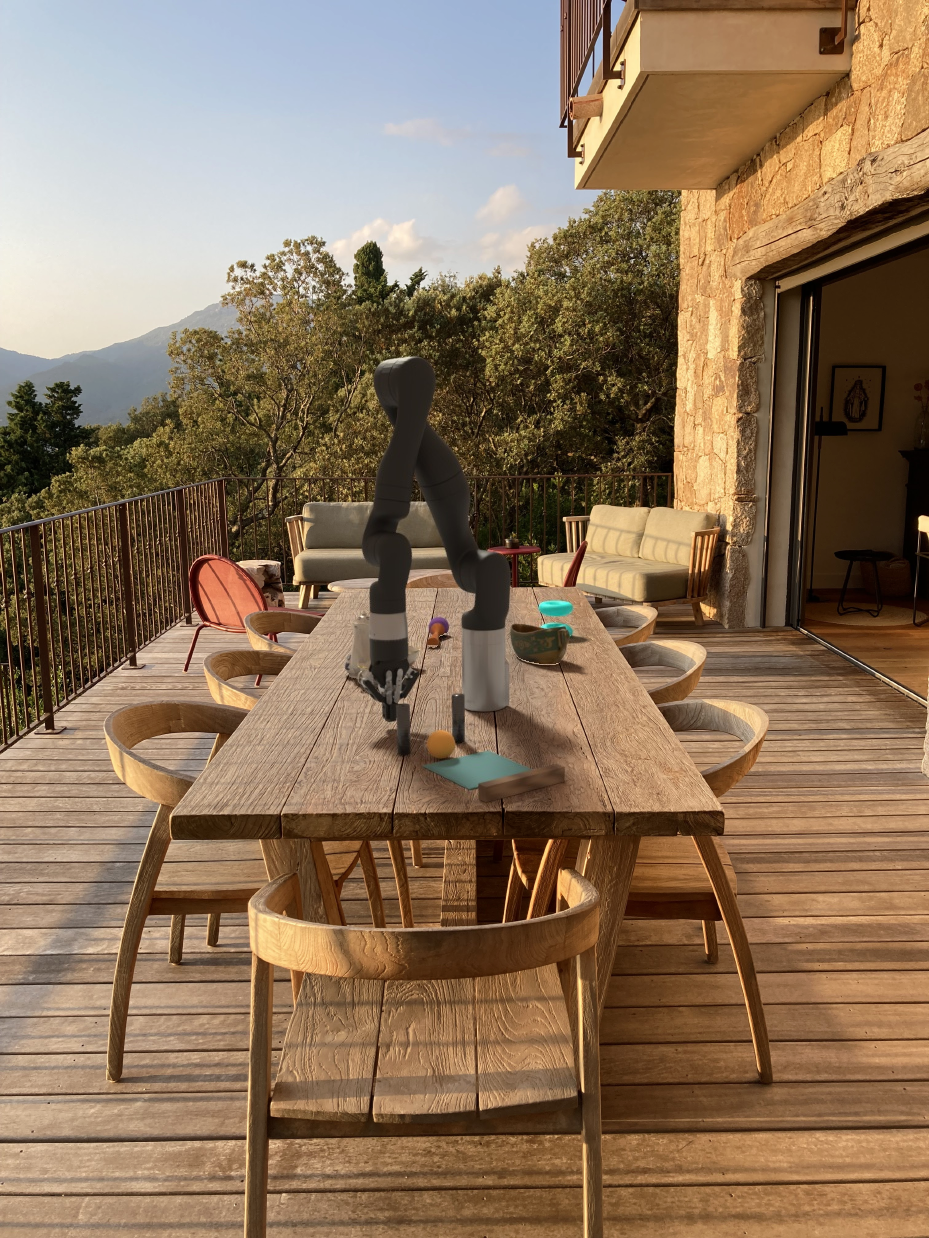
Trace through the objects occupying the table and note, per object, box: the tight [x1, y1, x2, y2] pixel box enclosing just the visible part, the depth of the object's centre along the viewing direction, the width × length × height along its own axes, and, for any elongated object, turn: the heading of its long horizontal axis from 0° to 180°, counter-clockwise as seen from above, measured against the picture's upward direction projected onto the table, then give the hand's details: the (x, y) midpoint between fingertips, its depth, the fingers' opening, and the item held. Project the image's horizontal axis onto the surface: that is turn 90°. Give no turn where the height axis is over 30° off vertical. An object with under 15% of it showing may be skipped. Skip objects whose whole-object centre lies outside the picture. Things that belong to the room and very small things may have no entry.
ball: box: [426, 729, 456, 760], centre depth 166 cm, size 5×5×5 cm
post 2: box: [451, 692, 466, 744], centre depth 175 cm, size 2×2×9 cm
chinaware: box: [343, 609, 422, 688], centre depth 227 cm, size 28×17×17 cm, turn 168°
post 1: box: [396, 702, 412, 757], centre depth 169 cm, size 2×2×9 cm
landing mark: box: [422, 750, 533, 791], centre depth 161 cm, size 14×14×1 cm
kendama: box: [426, 616, 450, 646], centre depth 269 cm, size 6×6×20 cm
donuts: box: [538, 600, 574, 636], centre depth 273 cm, size 10×10×10 cm
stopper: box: [477, 763, 566, 803], centre depth 151 cm, size 16×2×2 cm, turn 125°
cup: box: [509, 623, 571, 664], centre depth 242 cm, size 13×20×10 cm, turn 7°
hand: (390, 720), depth 185 cm, fingers closed
